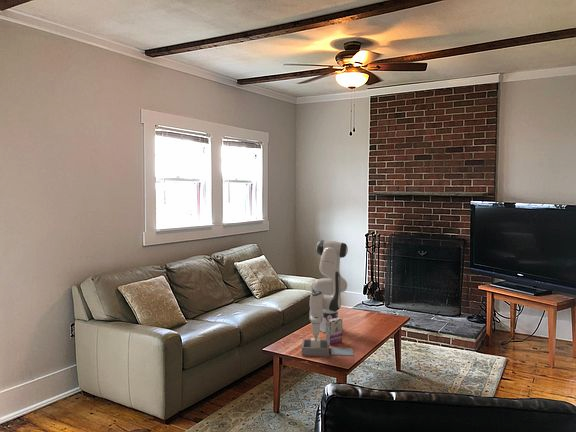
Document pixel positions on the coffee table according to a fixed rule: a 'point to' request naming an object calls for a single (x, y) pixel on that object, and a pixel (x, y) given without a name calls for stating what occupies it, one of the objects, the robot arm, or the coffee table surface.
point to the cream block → (315, 343)
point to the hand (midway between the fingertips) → (316, 338)
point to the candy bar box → (334, 330)
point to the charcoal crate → (315, 351)
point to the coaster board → (342, 351)
